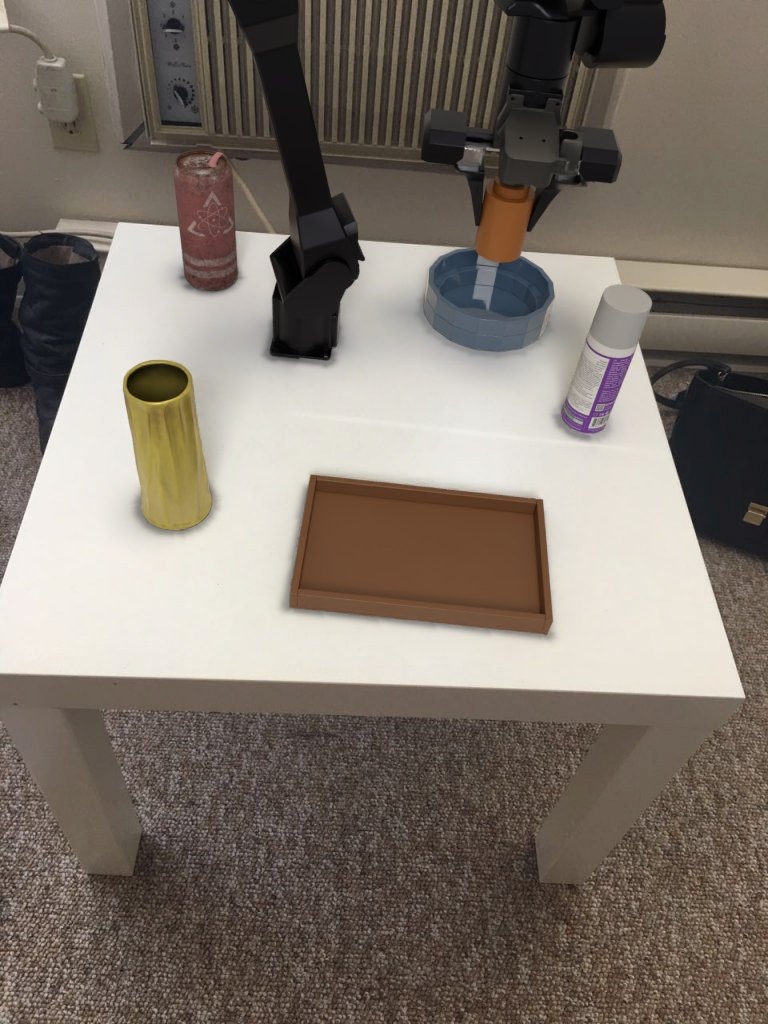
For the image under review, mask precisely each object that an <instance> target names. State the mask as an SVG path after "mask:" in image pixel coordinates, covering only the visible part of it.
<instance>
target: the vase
mask: <svg viewBox="0 0 768 1024" xmlns="http://www.w3.org/2000/svg"><path fill="white" fill-rule="evenodd" d="M193 381H194V380H193V376H192V374H191V372H190V370H189V369H188V368H187V367H186V366H184V365H183V364H181V363H179V362H176V361H173V360H168V359H150V360H145V361H142V362H140V363H137V364H136V365H134V366H133V367H131V368H129V370H127V372H126V373H125V375H124V377H123V379H122V393H123V399H124V405H125V411H126V415H127V420H128V425H129V430H130V434H131V439H132V440H131V441H132V447H133V455H134V460H135V466H136V473H137V477H138V481H139V487H140V494H141V504H140V505H141V512H142V515H143V517H144V518H145V519H146V520H147V522H148V523H150V524H151V525H153V526H154V527H157V528H159V529H163V530H167V531H181V530H186V529H188V528H192V527H194V526H196V525H198V524H199V523H201V522H202V521H203V520H204V519H205V518H207V516H208V514H209V513H210V512H211V509H212V504H213V497H212V494H211V493H210V487H209V486H210V484H209V476H208V470H207V465H206V458H205V454H204V448H203V444H202V443H203V442H202V437H201V433H200V426H199V425H200V424H199V419H198V414H197V413H198V412H197V405H196V398H195V397H196V396H195V389H194V382H193Z"/></svg>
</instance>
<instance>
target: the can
mask: <svg viewBox="0 0 768 1024" xmlns="http://www.w3.org/2000/svg"><path fill="white" fill-rule="evenodd" d="M174 161H175V163H174V165H173V166H172V174H173V183H174V192H175V202H176V210H177V219H178V220H177V221H178V230H179V239H180V247H181V256H182V257H181V258H182V266H183V274H184V278H185V280H186V281H187V282H188V283H189V284H190V286H192V287H193V288H195V289H196V290H199V291H203V292H204V291H205V292H219V291H223V290H226V289H228V288H230V287H231V286H232V285H233V284H235V281H236V280H237V279H238V275H239V272H238V271H239V270H238V268H239V267H238V251H237V249H238V248H237V233H236V232H237V231H236V230H237V229H236V214H235V213H236V211H235V195H234V194H235V193H234V177H233V175H234V174H233V168H232V166H231V164H230V163H229V159H228V158H227V157H226V156H225V154H224V153H223V152H221V151H214V150H210V149H193V150H188V151H185V152H182V153H181V154H179V155H178V156H177V157H176V159H175V160H174Z"/></svg>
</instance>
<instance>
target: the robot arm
mask: <svg viewBox="0 0 768 1024" xmlns="http://www.w3.org/2000/svg"><path fill="white" fill-rule="evenodd" d="M227 2H228V4H229V6H230V9H231V11H232V13H233V15H234V18H235V20H236V22H237V24H238V26H239V29H240V31H241V33H242V35H243V37H244V40H245V41H246V43H247V45H248V47H249V50H250V52H251V56H252V59H253V63H254V66H255V70H256V74H257V78H258V81H259V85H260V88H261V89H260V90H261V93H262V97H263V100H264V104H265V108H266V111H267V115H268V119H269V122H270V126H271V130H272V134H273V138H274V142H275V145H276V148H277V149H276V150H277V153H278V157H279V160H280V164H281V168H282V171H283V175H284V178H285V183H286V186H287V190H288V197H289V198H288V224H289V236H288V237H287V238H286V239H285V240H284V241H283V242H282V243H280V244H279V246H277V248H275V249H274V250H273V251H272V252H271V253H270V254H269V260H270V264H271V268H272V270H273V271H272V272H273V274H274V277H275V284H274V288H273V291H272V296H271V315H272V317H271V318H272V321H271V322H272V324H271V325H272V339H271V343H270V347H269V355H270V356H273V357H281V358H289V359H298V360H299V359H308V360H315V361H316V360H317V361H326V362H328V361H329V360H331V358H332V352H333V348H336V347H337V346H338V340H339V335H340V323H341V322H340V321H341V302H342V300H343V297H344V296H345V293H346V290H348V289H349V288H350V287H352V285H354V283H355V281H356V280H358V279H359V277H360V272H361V271H360V262H365V261H366V257H365V255H364V252H363V250H362V247H361V245H360V243H359V228H358V222H357V220H356V217H355V215H354V213H353V211H352V208H351V206H350V204H349V201H348V199H347V197H346V194H345V192H343V191H342V192H340V193H338V194H335V195H333V196H332V194H331V189H330V185H329V181H328V175H327V173H326V168H325V163H324V159H323V155H322V150H321V145H320V141H319V136H318V131H317V127H316V123H315V119H314V114H313V109H312V105H311V101H310V100H311V99H310V95H309V92H308V87H307V83H306V79H305V74H304V69H303V64H302V60H301V56H300V52H299V44H298V42H299V41H298V40H299V39H298V38H299V17H300V15H299V14H300V3H299V0H227ZM493 2H494V3H495V4H496V5H497V6H498V7H499V9H500V10H501V11H502V12H503V13H504V14H505V15H506V16H507V17H513V20H512V26H511V31H510V37H509V40H508V41H509V42H508V47H507V51H506V58H505V63H504V68H503V72H502V73H503V74H502V78H501V83H500V89H499V95H498V100H497V105H496V111H495V115H494V121H493V125H492V126H493V127H492V129H491V128H481V127H473V126H467V112H465V111H457V110H448V109H440V108H430V109H429V110H428V111H427V112H426V113H424V117H423V125H422V132H421V146H420V147H421V149H420V160H422V161H424V162H425V163H428V164H437V165H447V166H453V170H454V172H455V173H457V174H461V175H462V174H463V175H464V177H465V179H466V181H467V185H468V187H469V193H470V197H471V204H472V211H473V218H474V225H475V227H478V226H479V225H480V220H481V216H482V204H483V198H484V181H485V174H486V170H485V169H486V168H485V154H486V152H488V153H495V154H498V170H497V175H498V177H499V179H500V181H501V182H503V183H505V184H508V185H514V184H523V185H530V187H532V186H533V187H534V188H535V189H534V191H535V199H534V203H533V207H532V211H531V215H530V219H529V223H528V227H527V232H528V233H531V232H532V231H533V229H534V228H535V226H536V225H537V223H538V222H539V220H540V219H541V218H542V216H543V214H544V213H545V212H546V210H547V209H548V208H549V206H550V204H551V203H552V202H553V200H554V199H555V198H556V197H557V196H558V195H559V193H561V192H562V191H563V190H565V189H567V188H569V187H578V186H580V184H581V183H582V179H583V181H585V182H594V183H603V184H614V183H616V182H617V180H618V177H619V174H620V170H621V167H622V163H623V153H622V151H621V146H620V143H619V139H618V136H617V135H616V133H615V131H614V129H611V128H601V127H594V126H593V127H592V126H586V125H585V126H584V125H578V126H577V127H576V129H575V128H568V126H567V125H562V116H561V111H562V108H563V101H564V95H565V91H566V88H567V87H566V86H567V82H568V79H569V73H570V70H571V66H572V61H573V58H574V54H576V55H577V56H579V57H580V60H581V61H580V62H581V63H582V65H583V66H584V67H585V68H587V69H589V70H591V69H593V70H596V69H598V70H599V69H646V68H647V69H648V68H650V67H651V66H654V64H655V63H656V62H657V61H658V59H659V57H660V56H661V54H662V52H663V49H664V46H665V43H666V40H667V34H666V29H667V14H666V8H665V7H666V6H665V3H664V0H493ZM527 232H526V233H527Z"/></svg>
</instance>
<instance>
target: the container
mask: <svg viewBox="0 0 768 1024" xmlns="http://www.w3.org/2000/svg"><path fill="white" fill-rule="evenodd" d="M652 306H653V301H652V298H651V297H650V295H648V293H646V292H645V291H644V290H642V289H641V288H639V287H636V286H633V285H629V284H623V283H617V284H611V285H608V286H607V287H606V288H604V289H603V291H602V293H601V296H600V300H599V301H598V305H597V308H596V311H595V313H594V316H593V319H592V321H591V324H590V327H589V328H588V332H587V335H586V338H585V341H584V344H583V347H582V349H581V352H580V354H579V355H580V356H579V359H578V361H577V365H576V368H575V371H574V373H573V377H572V380H571V382H570V385H569V389H568V391H567V394H566V397H565V400H564V404H563V407H562V410H561V413H560V419H561V421H562V423H563V424H564V425H565V426H566V427H567V429H569V430H571V431H573V432H574V433H577V434H581V435H586V436H587V435H589V436H590V435H596V434H599V433H601V432H602V431H604V429H605V428H606V426H607V423H608V421H609V418H610V416H611V414H612V411H613V408H614V405H615V404H616V401H617V398H618V396H619V393H620V390H621V388H622V385H623V383H624V381H625V378H626V375H627V373H628V371H629V368H630V365H631V363H632V361H633V358H634V355H635V353H636V350H637V347H638V344H639V342H640V339H641V337H642V334H643V331H644V328H645V326H646V322H647V320H648V317H649V315H650V312H651V310H652Z"/></svg>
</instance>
